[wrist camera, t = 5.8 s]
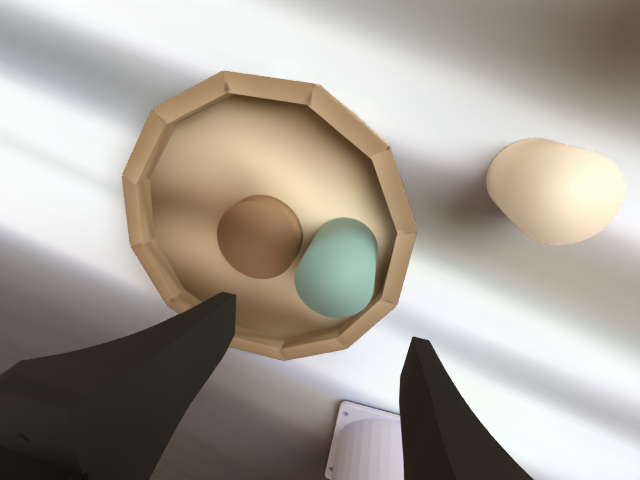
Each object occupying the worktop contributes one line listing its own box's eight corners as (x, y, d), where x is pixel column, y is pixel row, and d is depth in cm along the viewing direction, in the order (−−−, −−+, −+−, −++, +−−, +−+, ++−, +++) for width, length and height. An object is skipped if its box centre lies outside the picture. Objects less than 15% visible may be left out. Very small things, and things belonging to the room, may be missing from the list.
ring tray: (376, 365, 24) (375, 389, 22) (154, 309, 27) (135, 326, 25) (446, 102, 17) (453, 103, 15) (131, 58, 19) (101, 53, 17)
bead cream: (551, 218, 18) (596, 253, 14) (475, 205, 19) (498, 235, 15) (584, 144, 17) (646, 159, 13) (500, 131, 17) (533, 142, 13)
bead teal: (371, 282, 21) (365, 325, 17) (310, 269, 22) (291, 308, 18) (383, 224, 20) (381, 257, 16) (317, 211, 20) (298, 240, 16)
